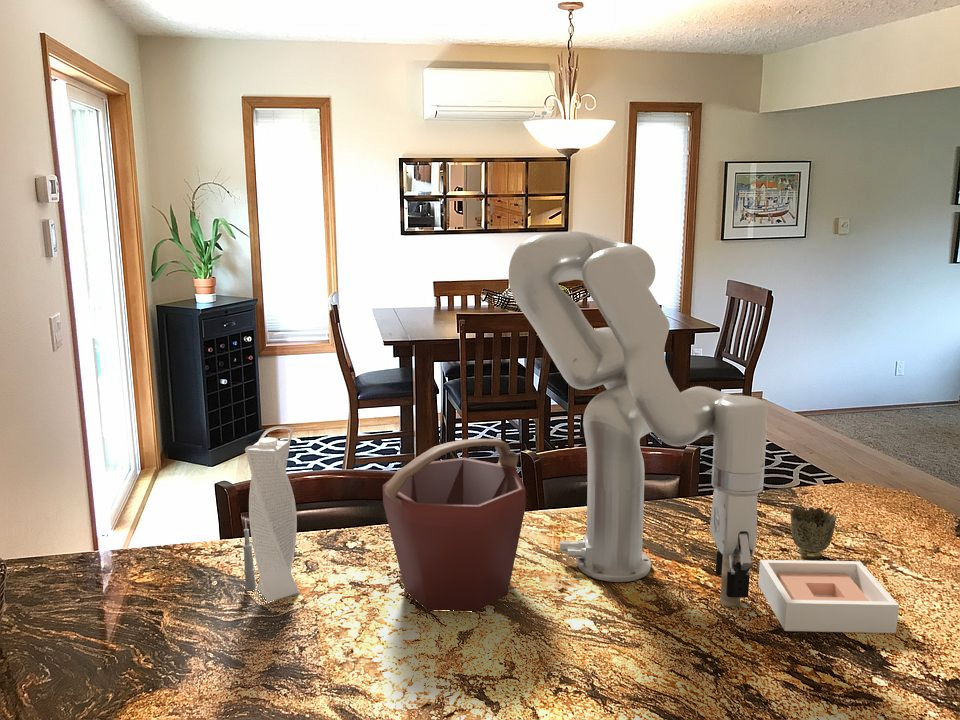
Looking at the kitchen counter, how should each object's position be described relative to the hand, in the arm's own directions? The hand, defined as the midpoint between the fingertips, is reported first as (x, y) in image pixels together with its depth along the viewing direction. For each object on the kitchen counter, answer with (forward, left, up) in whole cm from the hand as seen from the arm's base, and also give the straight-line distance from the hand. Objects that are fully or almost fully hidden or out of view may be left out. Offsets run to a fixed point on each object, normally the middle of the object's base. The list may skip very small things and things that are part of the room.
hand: (731, 584), depth 127 cm
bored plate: (+14, -1, -3) cm, 14 cm away
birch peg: (0, 0, -3) cm, 3 cm away
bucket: (-43, +3, -3) cm, 43 cm away
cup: (+18, +17, -3) cm, 25 cm away
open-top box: (+14, -1, -3) cm, 14 cm away
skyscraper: (-73, +1, -4) cm, 73 cm away
